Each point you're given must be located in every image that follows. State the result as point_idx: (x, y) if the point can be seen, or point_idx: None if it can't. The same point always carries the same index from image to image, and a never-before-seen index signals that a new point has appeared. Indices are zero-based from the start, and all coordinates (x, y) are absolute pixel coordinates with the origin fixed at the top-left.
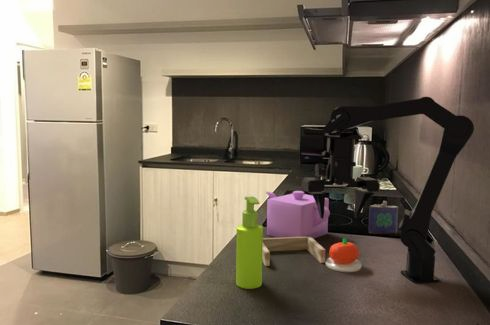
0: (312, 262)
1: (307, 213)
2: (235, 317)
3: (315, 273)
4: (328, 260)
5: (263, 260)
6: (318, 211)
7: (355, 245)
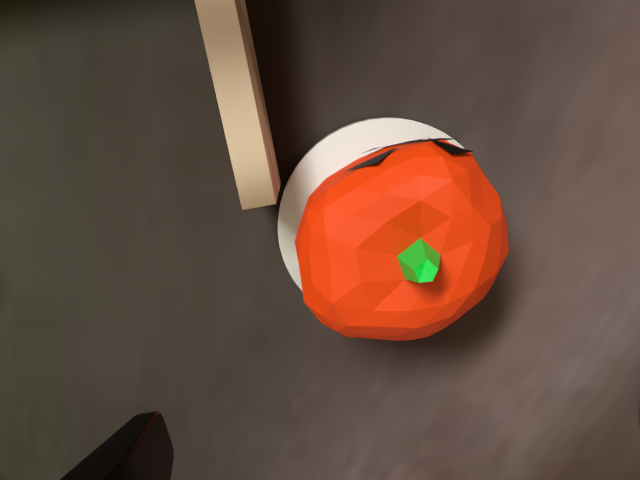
0: (204, 177)
1: None
2: None
3: (204, 334)
4: (299, 198)
5: None
6: (71, 475)
7: (492, 273)
